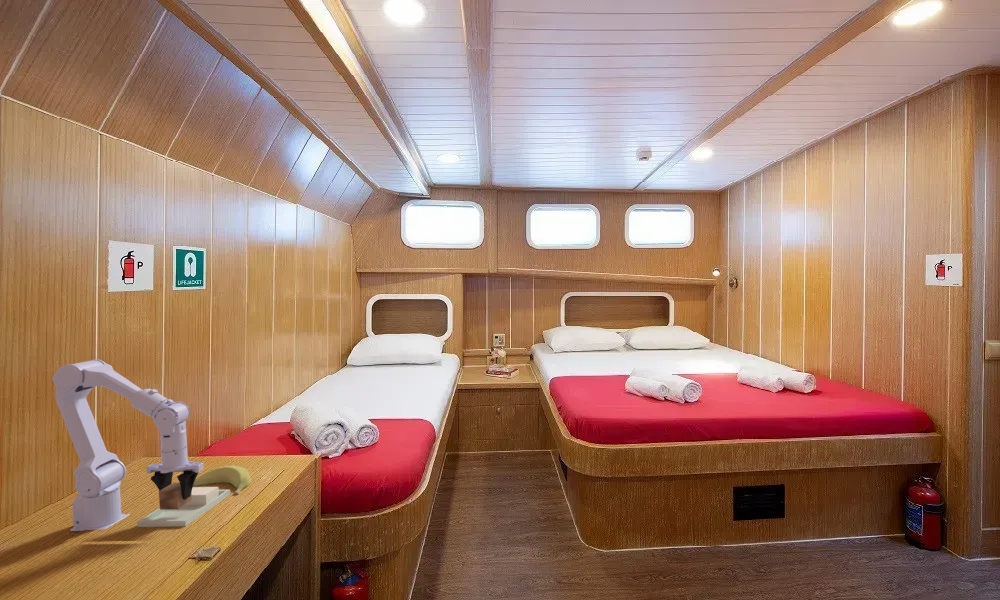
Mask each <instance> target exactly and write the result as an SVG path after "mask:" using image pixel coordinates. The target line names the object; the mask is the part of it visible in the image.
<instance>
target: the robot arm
mask: <svg viewBox="0 0 1000 600" xmlns="http://www.w3.org/2000/svg"><path fill="white" fill-rule="evenodd" d="M51 379H52V382H53V384H54V387H55V397H54V398H55V402H56V404H57V407H58V410H59V412H60V414H61V417H62V420H63V422H64V425H65V427H66V430H67V432H68V435H69V437H70V439H71V440H70V441H71V442H72V445H73V447H74V450H75V451H76V454H77V456H78V459H79V463H78V465H77V466H76V468H75V470H74V471H73V475H74V478H75V482H74V487H75V490H76V493H78V494H77V496H76V497H75V498H74V500H73V503H72V521H73V523H72V524H73V527H72V528H70V532H83V531H84V530H85V531H88V530H89V531H90V530H91V531H92V530H94V531H97V530H98V531H99V530H102V531H103V530H106V529H108V528H110V527H111V526H113V525H114V524H117V523H119V522H120V521H121V520H123V519H125V518H126V517H128V516H130V515H131V513H122V502H121V501H122V500H121V487H120V486H121V485H122V480H123V479H124V478H125V477H126V474H127V468H126V465H125V464H124V463H123V462H122V461H121V460H120V459H119V458H118V455H117V454H115V453H113V452H110V451H108V450H107V448H106V444H105V443H104V440H103V437H102V436H101V435H102V434H101V433H100V430H99V427H98V425H97V423H96V420H95V417H94V415H93V412H92V410H91V408H90V405H89V402H88V399H87V396H89V394H90V393H91V391H92V390H93V389H94V388H95V387H103V388H105V389H107V390H110V391H111V392H114V393H116V394H118V395H120V396H122V397H124V398H125V399H128V400H130V401H131V403H130V405H131V407H132V408H133V409H135V410H137V411H139V412H141V413H143V414H144V415H145V416H148V417H150V418H151V419H153V423H154V425H155V427H156V428H157V429H158V433H159V435H160V436H159V439H160V454H161V455H160V456H161V457H160V458H161V462H157V463H151V464H149V465H148V466H147V465H146V474H149V475H150V474H152V473H154V474H153V475H151V477H150V480H151V481H152V482H153V484H154V485H155V486H156V487H157V489H158V492H159V491H160V490H162V489H164V488H165V487H167V486H169V485H170V484H172V483H173V482H172V480H173V476H174V473H181V474H179V475H177V476H176V478H177V480H178V483H180V485H181V491H182V498H183V499H187V498H189V497H190V496H191V492H192V488H193V487H194V486H193V484H194V481H195V479H196V478H198V475H199V473H200V472H202V471H203V470H205V469H204V467H205V466H204V462H196V461H190V460H189V459H188V458H189V457H188V440H187V439H188V437H187V436H188V435H187V423H186V422H187V420H188V419H189V417H190V416H191V415H190V414H191V410H190V408H189V406H188V405H187V404H186V403H185V402H183V401H174V400H173V399H168V398H167V397H165V396H164V395H163V394H160V393H159V391H158V389H156V388H153V389H151V388H145V389H141V388H140V387H139V386H138V385H136V384H135V383H133V382H132V381H130V380H129V379H127V378H126V377H125V376H123V375H121V373H118V372H117V371H116V370H115V369H114V368H113V366H112V365H111V364H108V363H106V362H105V361H103V360H101V359H99V358H95V359H90V360H86V361H81V362H77V363H71V364H70V363H67V364H64V365H62V366H60V367H59V368H57V371H55V373H54V375H52V377H51Z"/></svg>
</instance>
